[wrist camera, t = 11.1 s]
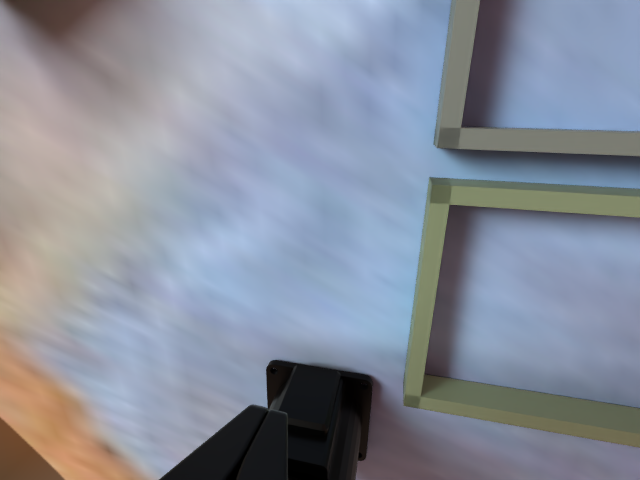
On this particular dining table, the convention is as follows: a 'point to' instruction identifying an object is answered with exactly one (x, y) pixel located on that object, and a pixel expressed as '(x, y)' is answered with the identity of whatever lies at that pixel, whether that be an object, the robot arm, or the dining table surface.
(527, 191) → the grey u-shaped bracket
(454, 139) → the olive u-shaped frame
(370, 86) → the dining table surface
